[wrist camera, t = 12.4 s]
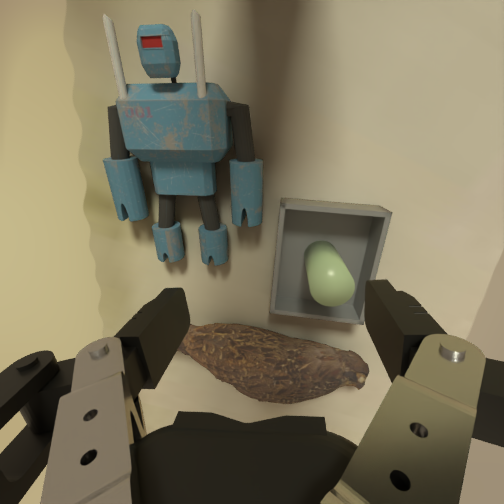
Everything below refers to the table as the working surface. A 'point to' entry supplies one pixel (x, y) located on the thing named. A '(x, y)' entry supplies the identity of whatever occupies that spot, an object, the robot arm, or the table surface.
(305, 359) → the cassava root
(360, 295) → the bin
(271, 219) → the table surface
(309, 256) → the pale green rounded knob
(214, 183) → the toy
